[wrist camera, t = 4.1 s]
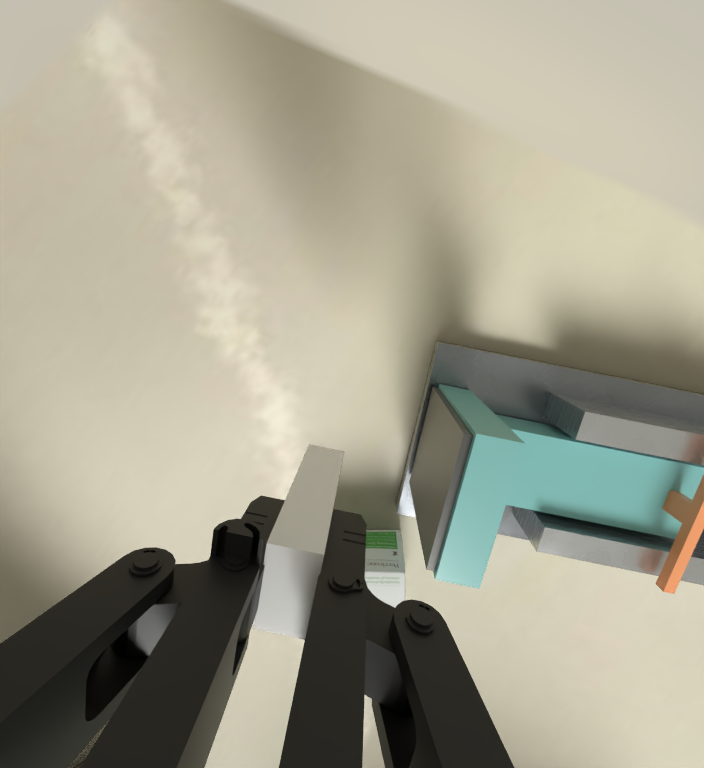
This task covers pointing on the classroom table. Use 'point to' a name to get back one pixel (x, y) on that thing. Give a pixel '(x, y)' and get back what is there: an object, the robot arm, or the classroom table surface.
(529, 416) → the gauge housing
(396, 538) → the small box
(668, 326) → the classroom table surface
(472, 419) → the plunger
